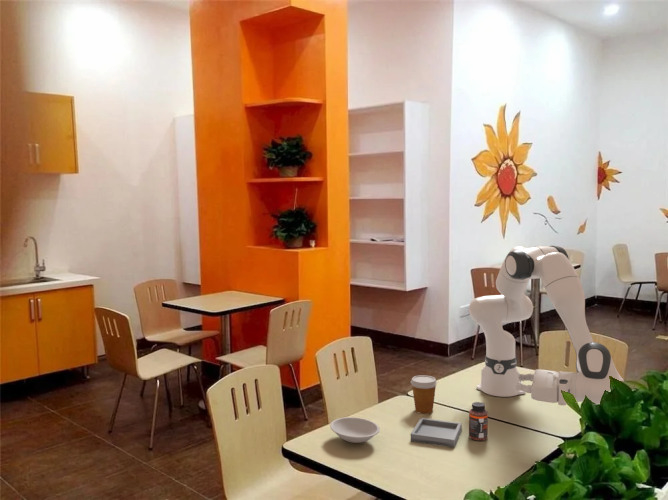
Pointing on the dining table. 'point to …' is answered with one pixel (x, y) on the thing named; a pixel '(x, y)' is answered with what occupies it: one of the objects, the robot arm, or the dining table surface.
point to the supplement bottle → (478, 422)
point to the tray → (436, 432)
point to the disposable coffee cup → (424, 393)
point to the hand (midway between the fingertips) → (517, 381)
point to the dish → (354, 429)
